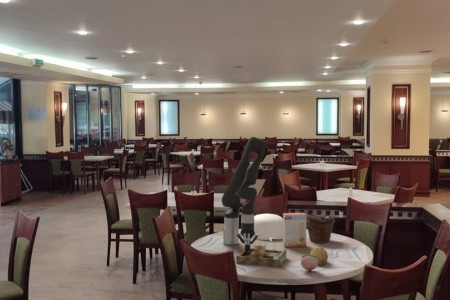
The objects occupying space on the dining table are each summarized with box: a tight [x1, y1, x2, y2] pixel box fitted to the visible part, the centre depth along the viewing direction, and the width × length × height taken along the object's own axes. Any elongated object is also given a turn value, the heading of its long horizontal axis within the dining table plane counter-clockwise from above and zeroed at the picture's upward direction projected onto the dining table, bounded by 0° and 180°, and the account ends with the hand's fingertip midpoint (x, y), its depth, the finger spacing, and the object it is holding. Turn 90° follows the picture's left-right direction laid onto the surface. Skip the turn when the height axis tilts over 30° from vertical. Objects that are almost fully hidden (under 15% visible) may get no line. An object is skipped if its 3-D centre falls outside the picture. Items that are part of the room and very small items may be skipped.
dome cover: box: [251, 213, 283, 241], centre depth 345 cm, size 32×30×14 cm
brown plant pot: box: [306, 213, 336, 244], centre depth 328 cm, size 18×20×18 cm
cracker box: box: [282, 212, 307, 248], centre depth 315 cm, size 14×6×21 cm, turn 95°
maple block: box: [254, 243, 266, 255], centre depth 288 cm, size 5×5×5 cm
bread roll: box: [309, 247, 329, 266], centre depth 281 cm, size 10×15×8 cm, turn 3°
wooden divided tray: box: [235, 247, 287, 268], centre depth 284 cm, size 25×18×6 cm
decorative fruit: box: [300, 252, 319, 272], centre depth 265 cm, size 9×8×10 cm
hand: (247, 250), depth 290 cm, fingers closed
